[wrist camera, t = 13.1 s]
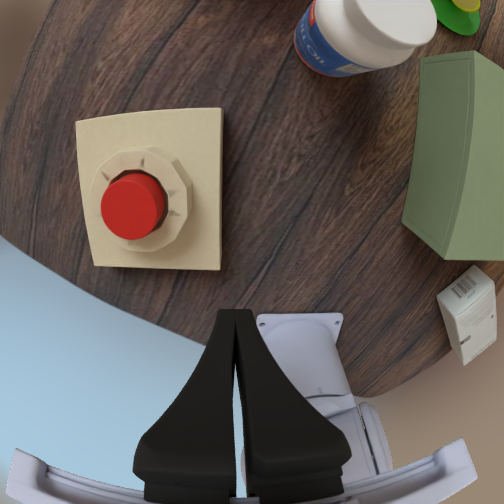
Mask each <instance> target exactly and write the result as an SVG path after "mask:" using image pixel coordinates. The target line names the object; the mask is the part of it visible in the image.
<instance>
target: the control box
mask: <svg viewBox="0 0 504 504" xmlns="http://www.w3.org/2000/svg"><path fill="white" fill-rule="evenodd" d="M223 121H224V109H222V108H189V109H169V110H155V111H144V112H135V113H126V114H118V115H111V116H104V117H98V118H92V119H86V120H81V121H76V141H77V156H78V168H79V178H80V187H81V195H82V202H83V209H84V215H85V221H86V227H87V232H88V238H89V243H90V248H91V252H92V257H93V261H94V265H95V266H111V267H134V268H161V269H193V270H220V267H221V259H222V160H223ZM134 173H139V174H144V175H146V176H149V177H150V178H152V179H153V180H154V181H155V182H156V183H157V184H158V185H159V186H160V188H161V190H162V192H163V195H164V199H165V208H164V212H163V215H162V217H161V218H160V220H159V221H158V223H157V224H156V226H155V227H154V228H153V230H152V231H151V232H150V233H149V234H148V235H146V236H145V237H143V238H140V239H136V240H127V239H123V238H120V237H118V236H117V235H115V234H114V233H112V232H111V231H110V230H109V229H108V227H107V226H106V224H105V223H104V221H103V218H102V215H101V199H102V196H103V194H104V192H105V191H106V189H107V188H108V187H109V186H110V185H111V184H113V183H114V182H116V181H117V180H119V179H121V178H122V177H124V176H126V175H129V174H134Z"/></svg>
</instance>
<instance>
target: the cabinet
mask: <svg viewBox="0 0 504 504" xmlns="http://www.w3.org/2000/svg"><path fill="white" fill-rule="evenodd" d="M401 223H403V224H404V225H405V226H406V227H408V228H409V229H410V230H411V231H412V232H414V233H415V234H416V235H417V236H418V237H419V238H421V239H422V240H423V241H424V242H425V243H426V244H428V245H429V246H430V247H431V248H432V249H433V250H434V251H436V252H437V253H438V254H439V255H440V256H441V257H442V258H443V259H444V260H504V70H503V69H502V68H501V67H499V66H498V65H496V64H495V63H493V62H492V61H490V60H489V59H487V58H486V57H484V56H483V55H481V54H479V53H478V52H476V51H465V52H456V53H449V54H442V55H436V56H430V57H424V58H420V81H419V102H418V116H417V126H416V136H415V144H414V152H413V159H412V166H411V172H410V178H409V184H408V189H407V195H406V200H405V205H404V209H403V214H402V219H401Z"/></svg>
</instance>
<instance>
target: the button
mask: <svg viewBox="0 0 504 504" xmlns="http://www.w3.org/2000/svg"><path fill="white" fill-rule="evenodd" d="M164 208H165V199H164V195H163V192H162V190H161V188H160V186H159V185H158V184H157V183H156V182H155V181H154V180H153V179H152V178H150V177H149V176H146V175H144V174H139V173H134V174H129V175H126V176H124V177H122V178H121V179H119V180H117V181H116V182H114V183H113V184H111V185H110V186H109V187H108V188H107V189H106V191H105V192H104V194H103V196H102V199H101V215H102V218H103V221H104V223H105V224H106V226H107V227H108V229H109V230H110V231H111V232H112V233H114V234H115V235H117V236H118V237H120V238H123V239H127V240H136V239H140V238H143V237H145V236H146V235H148V234H149V233H150V232H151V231H152V230H153V228H154V227H155V226H156V224H157V223H158V221H159V220H160V218H161V217H162V215H163V212H164Z"/></svg>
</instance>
